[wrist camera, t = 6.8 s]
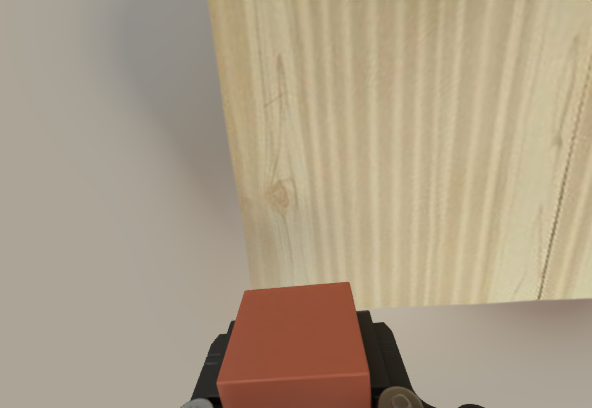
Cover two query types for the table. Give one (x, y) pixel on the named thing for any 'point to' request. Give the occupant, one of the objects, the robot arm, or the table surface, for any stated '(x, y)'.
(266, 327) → the block
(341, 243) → the table surface
